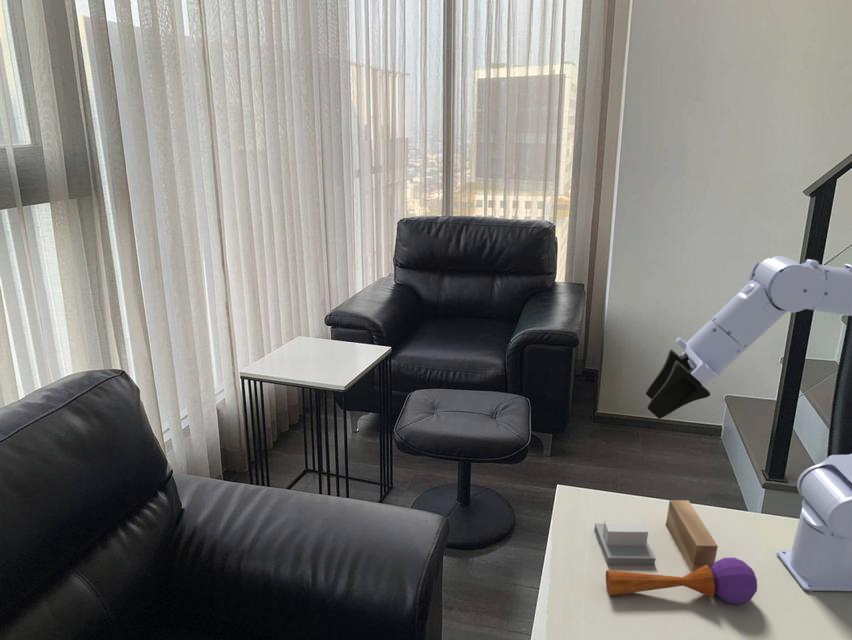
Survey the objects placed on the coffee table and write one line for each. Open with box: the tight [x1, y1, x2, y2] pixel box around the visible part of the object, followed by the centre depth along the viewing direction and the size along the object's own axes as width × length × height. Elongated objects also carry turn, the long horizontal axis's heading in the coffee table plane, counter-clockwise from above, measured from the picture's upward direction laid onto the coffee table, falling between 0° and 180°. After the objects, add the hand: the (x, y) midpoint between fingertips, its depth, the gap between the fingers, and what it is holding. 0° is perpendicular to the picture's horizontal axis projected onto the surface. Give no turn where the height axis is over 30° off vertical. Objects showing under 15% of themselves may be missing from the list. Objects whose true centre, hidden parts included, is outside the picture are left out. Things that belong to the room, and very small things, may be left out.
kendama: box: [605, 557, 758, 605], centre depth 88 cm, size 6×6×20 cm
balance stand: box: [593, 521, 656, 566], centre depth 98 cm, size 7×8×4 cm
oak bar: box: [665, 499, 719, 573], centre depth 97 cm, size 3×11×5 cm, turn 0°
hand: (652, 405), depth 87 cm, fingers open, 7 cm apart
